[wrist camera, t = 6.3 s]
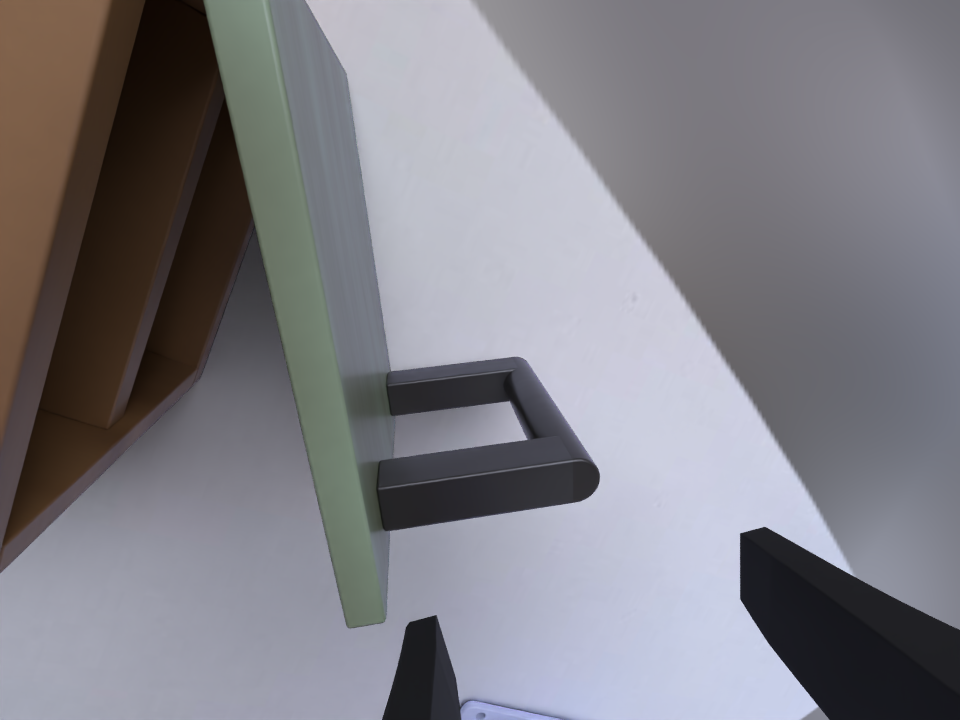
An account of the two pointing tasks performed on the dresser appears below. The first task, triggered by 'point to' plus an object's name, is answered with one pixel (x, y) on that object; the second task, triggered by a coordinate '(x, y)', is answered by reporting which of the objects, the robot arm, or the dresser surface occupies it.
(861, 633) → the robot arm
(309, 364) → the door
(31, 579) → the dresser surface
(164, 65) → the cupboard
